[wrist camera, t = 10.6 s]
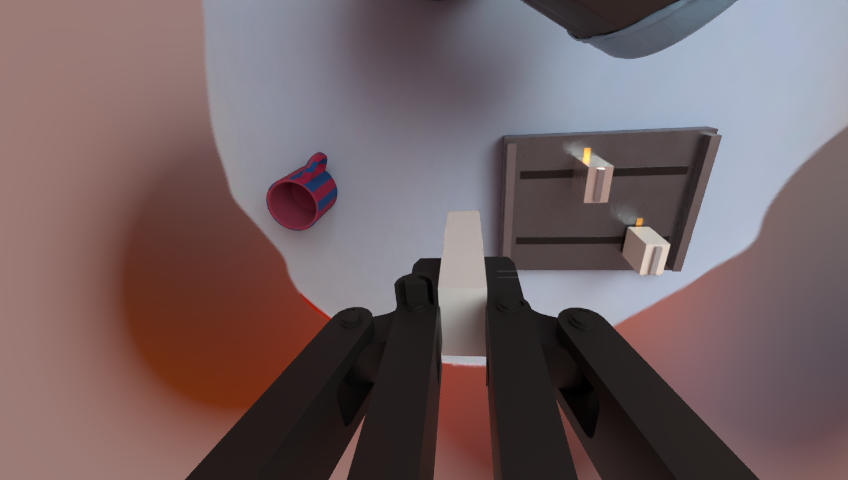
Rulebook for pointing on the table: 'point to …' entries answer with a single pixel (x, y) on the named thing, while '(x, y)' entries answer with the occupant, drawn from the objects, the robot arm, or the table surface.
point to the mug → (303, 195)
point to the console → (601, 194)
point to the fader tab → (645, 250)
